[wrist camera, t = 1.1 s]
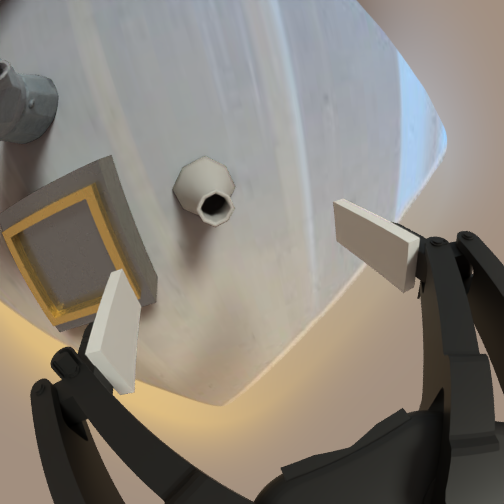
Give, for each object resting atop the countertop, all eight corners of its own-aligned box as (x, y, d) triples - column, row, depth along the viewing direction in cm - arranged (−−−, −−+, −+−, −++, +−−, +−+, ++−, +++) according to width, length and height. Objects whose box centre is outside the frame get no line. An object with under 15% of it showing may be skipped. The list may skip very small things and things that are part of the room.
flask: (161, 189, 31) (156, 211, 22) (204, 145, 30) (217, 149, 21) (204, 226, 34) (215, 262, 25) (245, 186, 33) (272, 207, 25)
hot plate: (19, 201, 25) (-10, 219, 18) (111, 154, 27) (93, 161, 20) (78, 318, 34) (66, 352, 27) (164, 291, 36) (164, 325, 30)
